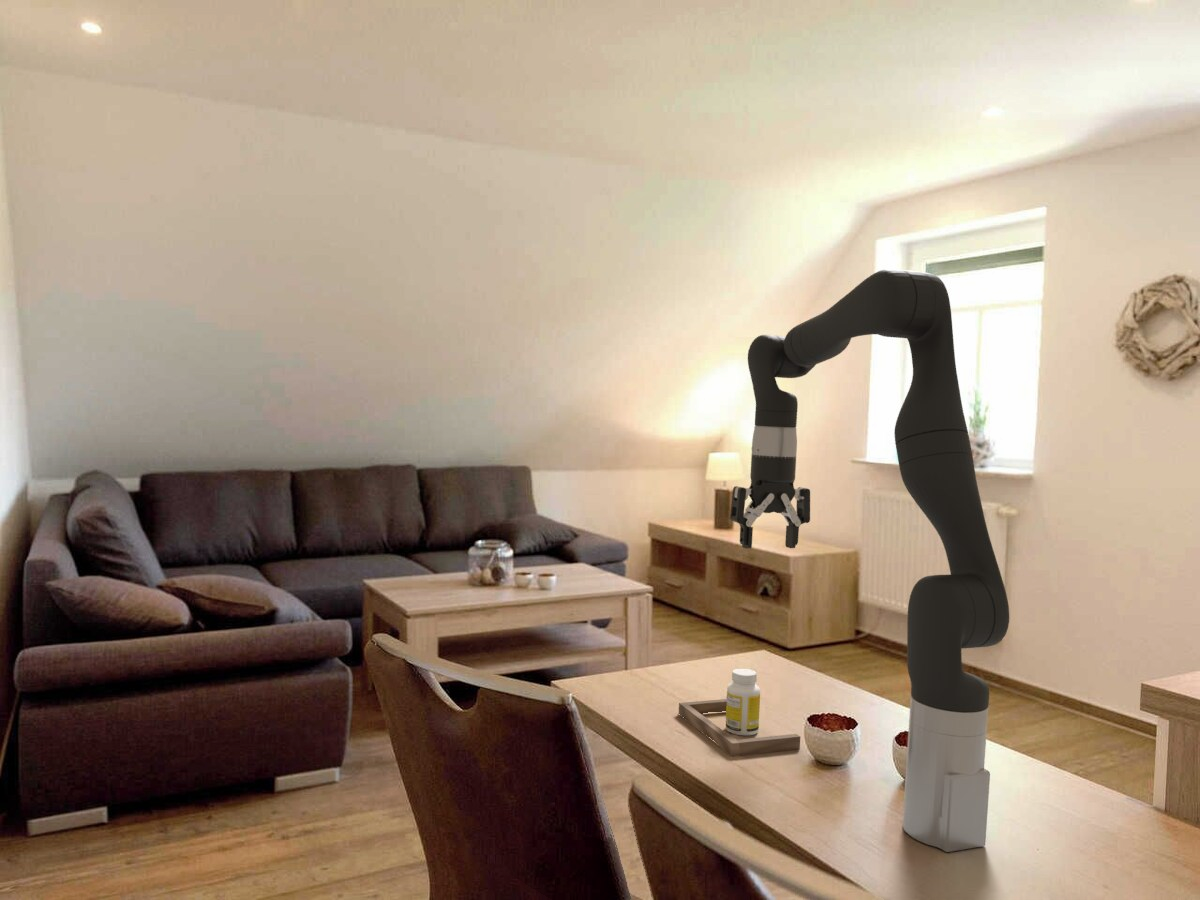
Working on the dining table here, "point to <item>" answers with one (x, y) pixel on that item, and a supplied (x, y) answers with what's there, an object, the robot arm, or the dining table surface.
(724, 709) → the walnut tray
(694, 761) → the dining table surface
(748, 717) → the supplement bottle
